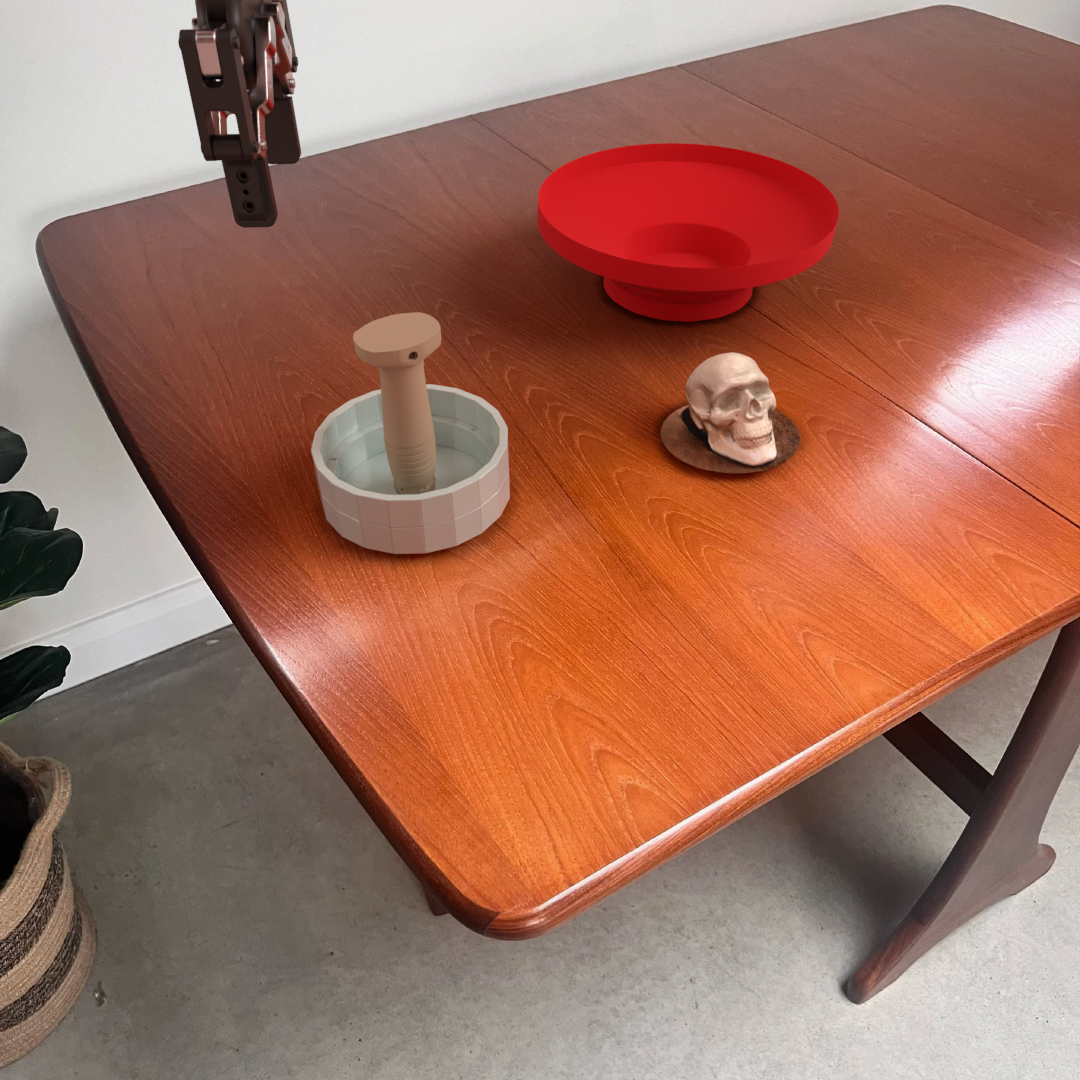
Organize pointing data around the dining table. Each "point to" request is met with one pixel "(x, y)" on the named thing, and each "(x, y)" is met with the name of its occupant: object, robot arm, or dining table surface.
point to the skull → (730, 419)
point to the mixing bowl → (413, 519)
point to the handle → (404, 394)
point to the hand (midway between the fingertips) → (271, 191)
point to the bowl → (686, 225)
